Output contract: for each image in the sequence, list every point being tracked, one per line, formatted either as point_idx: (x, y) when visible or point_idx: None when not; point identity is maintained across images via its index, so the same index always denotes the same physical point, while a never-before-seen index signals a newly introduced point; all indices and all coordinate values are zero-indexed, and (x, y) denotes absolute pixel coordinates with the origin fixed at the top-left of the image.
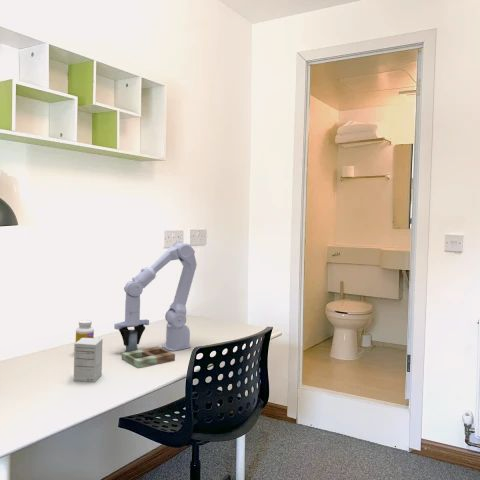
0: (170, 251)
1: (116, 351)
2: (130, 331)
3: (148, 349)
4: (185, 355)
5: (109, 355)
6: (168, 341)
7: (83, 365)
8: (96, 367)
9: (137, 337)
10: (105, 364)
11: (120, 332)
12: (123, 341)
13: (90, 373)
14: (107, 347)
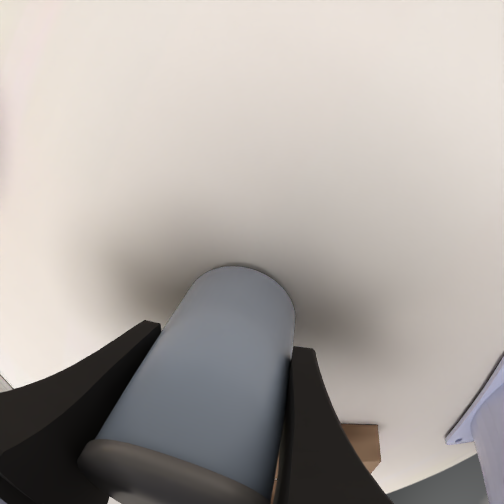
0: None
1: (128, 218)
2: (137, 501)
3: (276, 468)
4: (416, 480)
5: (61, 272)
6: (486, 449)
7: None
8: None
9: (284, 443)
10: (37, 362)
11: (13, 399)
12: (116, 343)
13: None
14: (120, 44)
